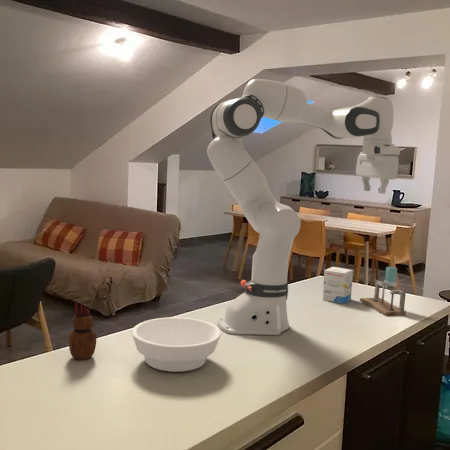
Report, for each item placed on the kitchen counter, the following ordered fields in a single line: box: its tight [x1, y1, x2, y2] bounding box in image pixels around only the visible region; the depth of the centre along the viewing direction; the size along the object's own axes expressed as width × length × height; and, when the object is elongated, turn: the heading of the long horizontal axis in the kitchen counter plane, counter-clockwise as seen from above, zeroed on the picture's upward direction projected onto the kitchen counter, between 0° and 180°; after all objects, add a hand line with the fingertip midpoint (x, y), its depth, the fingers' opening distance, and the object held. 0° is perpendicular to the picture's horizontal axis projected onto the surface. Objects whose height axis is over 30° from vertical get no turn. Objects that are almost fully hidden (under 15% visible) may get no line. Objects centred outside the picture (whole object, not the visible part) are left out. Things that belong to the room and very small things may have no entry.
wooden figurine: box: [68, 301, 97, 361], centre depth 137 cm, size 7×6×15 cm
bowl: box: [131, 316, 222, 373], centre depth 137 cm, size 22×22×8 cm
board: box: [359, 279, 407, 317], centre depth 196 cm, size 8×18×8 cm, turn 15°
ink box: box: [322, 266, 354, 305], centre depth 204 cm, size 9×8×12 cm
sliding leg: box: [381, 266, 398, 304], centre depth 195 cm, size 5×3×13 cm, turn 105°
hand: (374, 192), depth 175 cm, fingers open, 8 cm apart
